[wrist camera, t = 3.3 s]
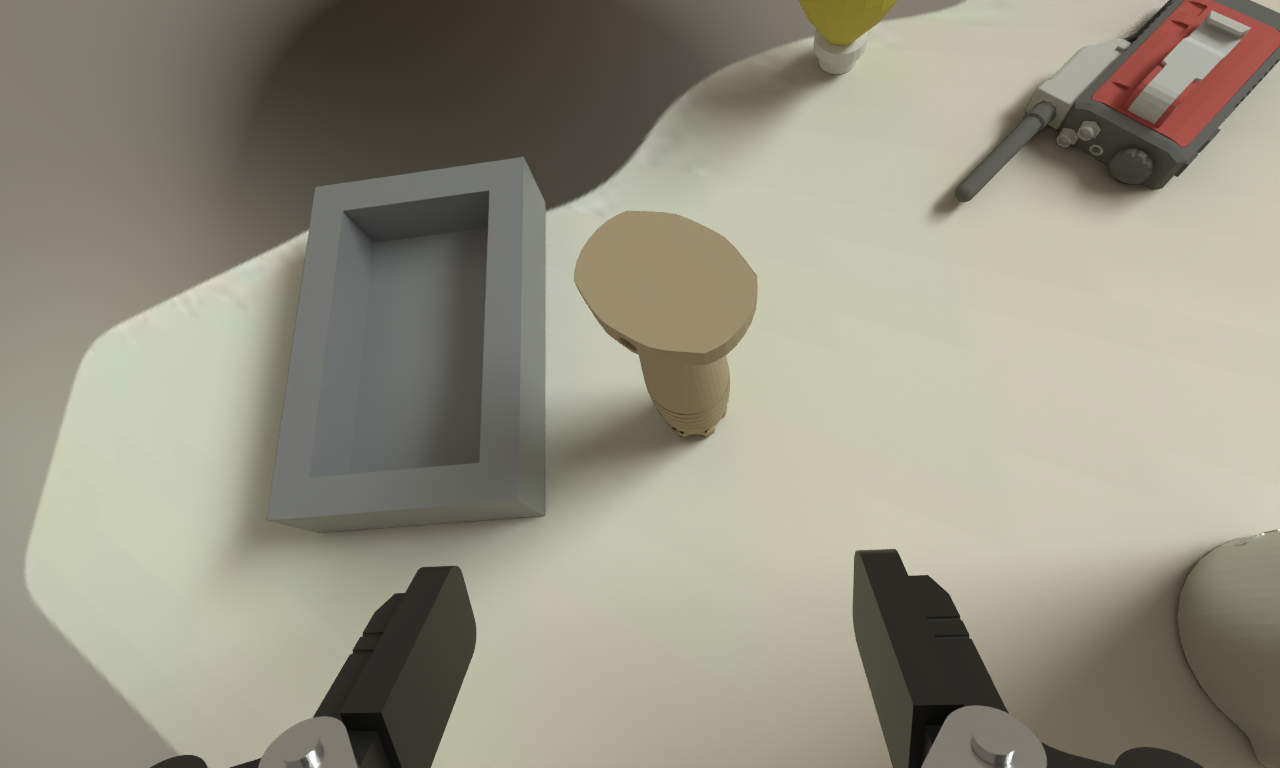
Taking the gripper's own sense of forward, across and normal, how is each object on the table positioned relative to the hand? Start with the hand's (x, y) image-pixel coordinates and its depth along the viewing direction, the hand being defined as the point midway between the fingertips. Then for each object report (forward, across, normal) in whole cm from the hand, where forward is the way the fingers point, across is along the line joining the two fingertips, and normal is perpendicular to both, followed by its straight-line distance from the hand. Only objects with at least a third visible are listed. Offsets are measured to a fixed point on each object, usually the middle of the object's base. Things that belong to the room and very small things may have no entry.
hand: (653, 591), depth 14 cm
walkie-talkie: (+33, -26, -4) cm, 42 cm away
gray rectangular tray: (+26, +15, +4) cm, 30 cm away
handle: (+22, 0, +8) cm, 24 cm away
